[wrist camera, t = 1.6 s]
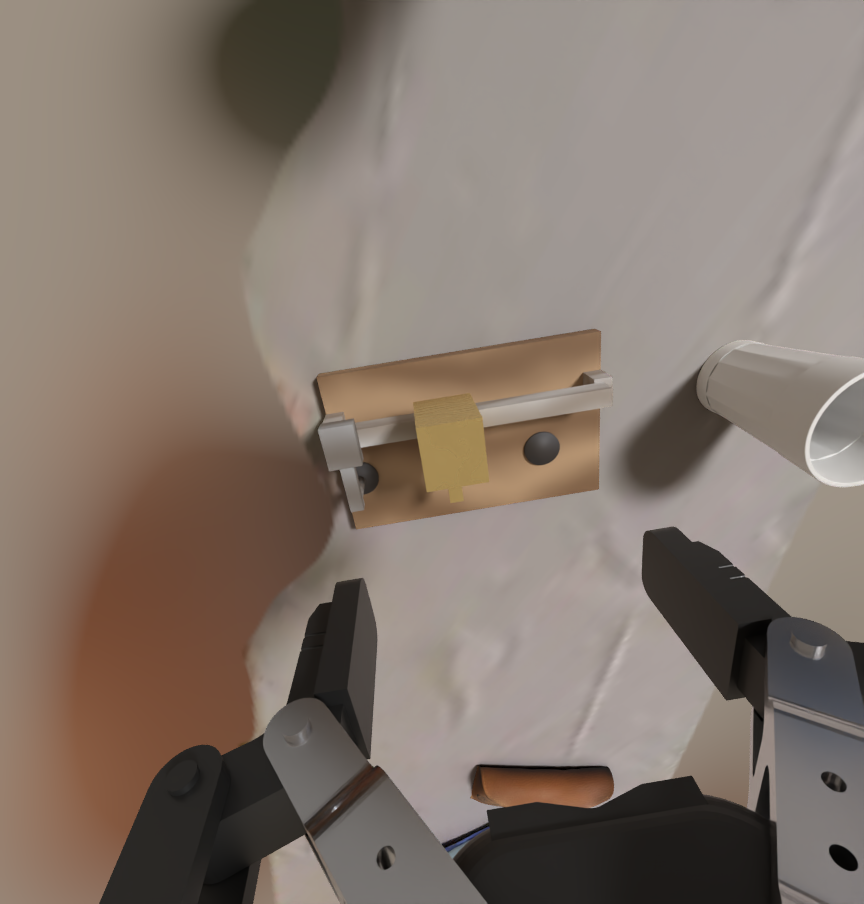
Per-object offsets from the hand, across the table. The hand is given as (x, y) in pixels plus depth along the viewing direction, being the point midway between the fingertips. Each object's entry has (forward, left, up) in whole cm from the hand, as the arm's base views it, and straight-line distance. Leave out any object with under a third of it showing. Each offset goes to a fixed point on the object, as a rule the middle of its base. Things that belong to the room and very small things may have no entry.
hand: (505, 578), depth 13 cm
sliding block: (+5, 0, -23) cm, 24 cm away
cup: (+5, +25, -25) cm, 36 cm away
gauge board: (+6, +2, -25) cm, 26 cm away
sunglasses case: (+58, +6, -26) cm, 63 cm away
